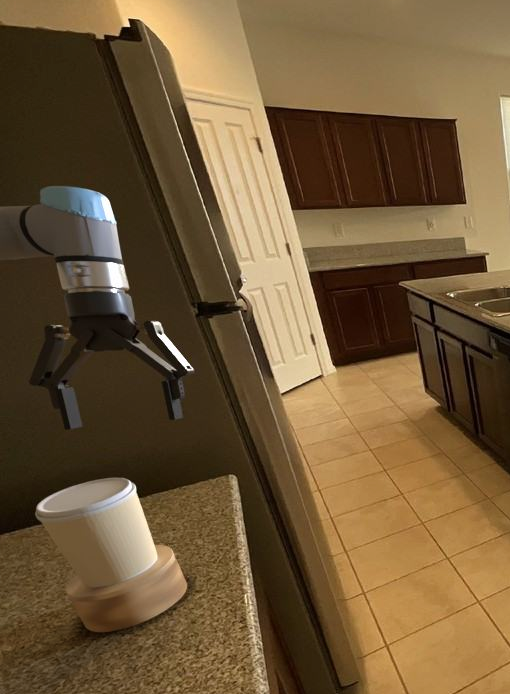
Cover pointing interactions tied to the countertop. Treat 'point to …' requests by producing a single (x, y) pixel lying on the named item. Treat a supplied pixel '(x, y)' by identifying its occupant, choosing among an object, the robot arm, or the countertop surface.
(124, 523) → the coffee cup
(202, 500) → the countertop surface
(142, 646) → the countertop surface
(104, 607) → the stand
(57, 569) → the countertop surface
